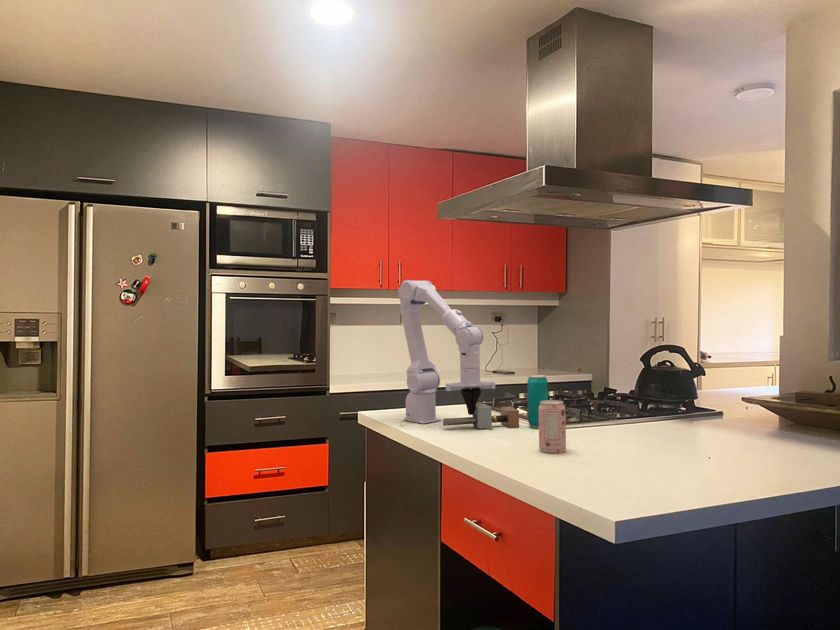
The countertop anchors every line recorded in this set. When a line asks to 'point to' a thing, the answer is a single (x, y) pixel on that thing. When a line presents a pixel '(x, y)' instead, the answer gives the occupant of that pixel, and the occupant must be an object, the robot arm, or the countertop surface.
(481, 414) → the sleeve
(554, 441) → the beverage can
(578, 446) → the countertop surface
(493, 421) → the pipe rig
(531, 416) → the beverage can
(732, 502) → the countertop surface
